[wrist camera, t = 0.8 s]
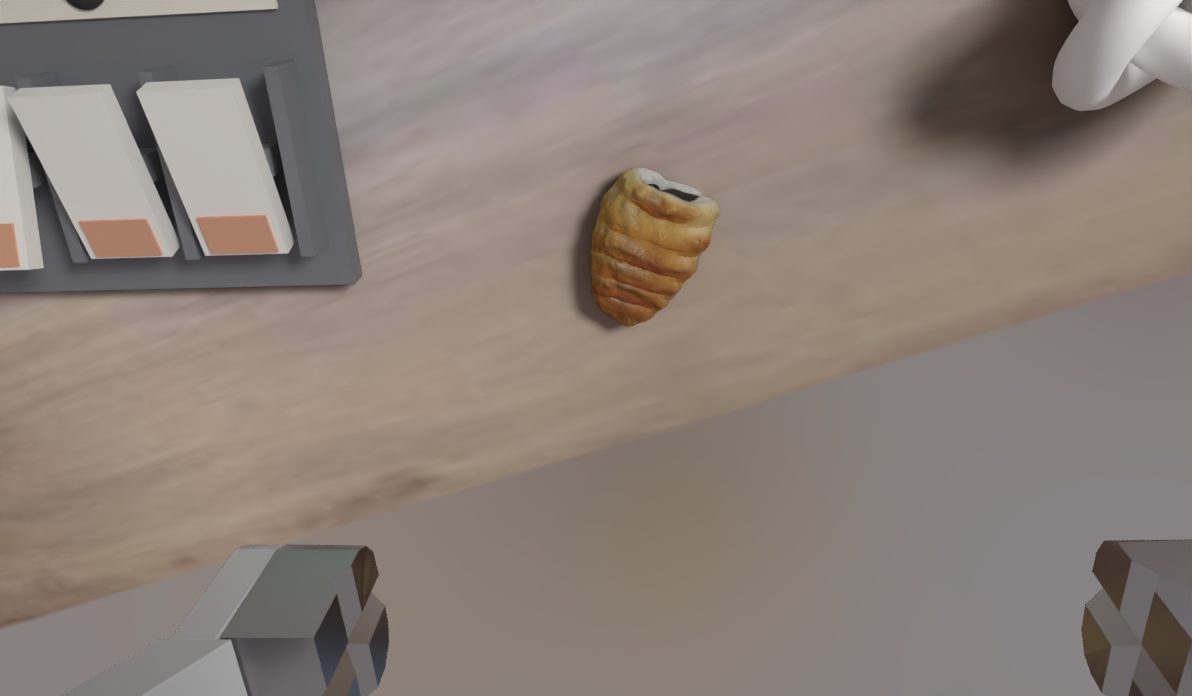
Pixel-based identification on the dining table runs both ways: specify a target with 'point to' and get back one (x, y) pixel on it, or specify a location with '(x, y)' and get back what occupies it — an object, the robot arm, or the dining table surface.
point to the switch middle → (96, 170)
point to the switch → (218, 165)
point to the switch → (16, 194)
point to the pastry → (647, 243)
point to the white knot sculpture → (1123, 50)
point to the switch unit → (127, 61)
